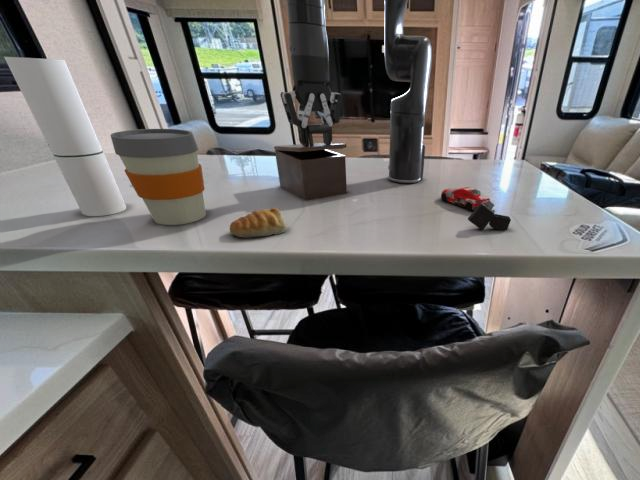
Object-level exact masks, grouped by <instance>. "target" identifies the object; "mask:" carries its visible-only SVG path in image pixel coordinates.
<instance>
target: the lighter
mask: <svg viewBox="0 0 640 480" xmlns="http://www.w3.org/2000/svg"><path fill="white" fill-rule="evenodd" d="M485 205H486V206H485ZM485 205H484V204H482V203H480V204H479V205H478V207H477V208H476V209H475V210H473V212H471V214H470V215H469V216H468V217H467V220H468V221H469V223H471V224H473V226H476V227H477V228H478V229H480V230H481V231H484V229H485V228H486V227H487V226H488V225H489V227H490V228H491V229H494V230H496V231H507V230H508V229H509V226H510V224H511V221H512V219H511V217H510V216H508V215H503V214H498V213H496V210H495V209H493V208H494V207H495V204H494V203H493V202H492V201H490V202H489V201H487V202H486V203H485Z"/></svg>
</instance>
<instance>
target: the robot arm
mask: <svg viewBox="0 0 640 480" xmlns="http://www.w3.org/2000/svg"><path fill="white" fill-rule="evenodd" d="M408 2H409V0H384V41H383V42H384V65H385V71H386V74H387V76H388V79H389V80H391V81H394V82H403V83H404V82H405V83H410V84H409V85H410V86H409V89H408V90H407V91H406V92H405V93H404V94H402V95H400V96H397V97H395V98H392V99H391V100H390V114H389V115H390V117H389V154H388V155H389V156H388V157H389V159H388V180H389V181H391V182H394V183H398V184H416V183H419V182H420V181H421V180H423V179H424V168H425V155H426V144H425V143H424V136H425V135H424V134H425V121H426V109H427V102H428V98H429V97H428V96H429V86H430V79H431V71H432V64H433V63H432V61H433V47H432V43H431V41H430V39H429V38H428V37H427V36H425V35H405V34H404V23H405V15H406V14H405V13H406V8H407V5H408ZM285 3H286V13H287V22H288V43H289V44H288V46H289V47H288V49H289V53H290V64H291V72H292V73H291V75H292V80H293V88H292V90H290V91H288V92H285V91H281V92H280V96H279V97H280V98H281V101H282V105H283V109H284V111H285V112H284V113H285V114H286V117H287V118H286V119H287V121H288V123H289V124H291V125H294V126H296V127H297V132H298V141H299V144H302V145H303V146H309V138H308V129H307V128H306V126H307V125H308V121H309V118H310V116H311V113H313V112H317V114H318V115H319V116H320V119H321V122H322V124H328V126H329V132H328V139H329V144H331V143H333V125H335V124H339V123H340V120H341V119H340V118H341V111H342V104H343V95H342V93H339V92H333V91H332V89H331V87H330V63H329V61H330V59H329V44H328V43H329V42H328V35H327V30H326V29H327V28H326V14H325V1H324V0H286V1H285ZM295 99H296V101H297V102H298V107H297V111H296V107H295ZM329 102H330V108H329V105H328V104H329ZM322 140H323V142H322V143H324V144H325V138H324V133H322Z"/></svg>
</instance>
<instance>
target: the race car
mask: <svg viewBox="0 0 640 480" xmlns="http://www.w3.org/2000/svg"><path fill="white" fill-rule="evenodd" d="M440 198H441V200H442V202H444V203H445V202H449V203H452V204H455V205H457V206H459V207H463V208H465V209H466V210H467V211H469V212H470V211H475V209H476V208H477V207H478V205H479V204H480V203H482V204H484V205H485V203H486V202H487V201H489V202H491V199H490V197H489V196H488V195H486V194H485V193H483V191H480V190H479V189H477V188H474V187H471V186H465V187H460V188H455V187H453V188H452V187H451V188H445V189H443V190H442V191H441V195H440ZM485 206H486V205H485Z"/></svg>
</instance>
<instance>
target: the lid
mask: <svg viewBox="0 0 640 480" xmlns="http://www.w3.org/2000/svg"><path fill="white" fill-rule="evenodd" d="M306 128H307V129H308V139H309V146H303V145H302V143H298V144H285V145H274V147H273V148H274V151H275V150H284V151H297V152H305V151H316V150H336V149H345V148H347V143H336V142H331V144H329V139H328V132H329V126H328V124H323V123H316V124H315V123H314V124H307V126H306ZM323 133H324V138H325V144H324V142H314V138H313V135H314V134H323Z"/></svg>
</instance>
